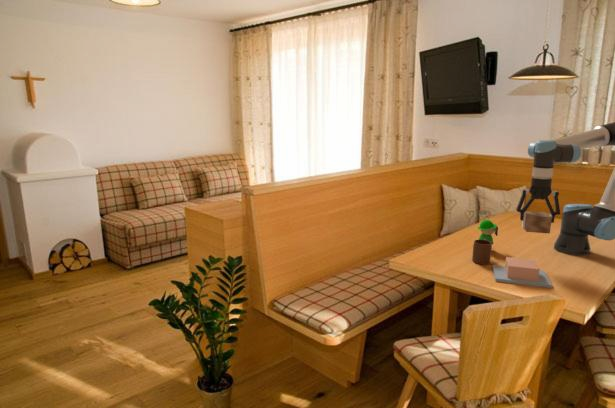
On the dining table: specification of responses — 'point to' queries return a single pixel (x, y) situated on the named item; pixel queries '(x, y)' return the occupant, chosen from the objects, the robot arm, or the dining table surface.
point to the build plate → (519, 281)
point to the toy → (487, 230)
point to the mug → (482, 251)
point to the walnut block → (537, 222)
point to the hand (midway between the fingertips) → (535, 228)
